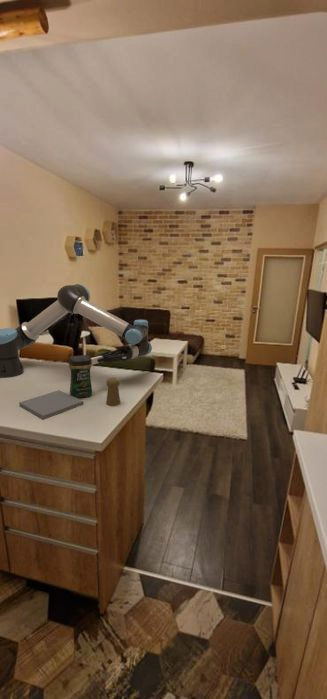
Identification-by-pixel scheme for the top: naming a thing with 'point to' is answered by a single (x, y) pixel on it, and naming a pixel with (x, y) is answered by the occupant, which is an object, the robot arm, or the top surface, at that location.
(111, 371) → the top surface
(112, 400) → the cork
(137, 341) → the robot arm
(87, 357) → the coffee jar
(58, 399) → the mat
